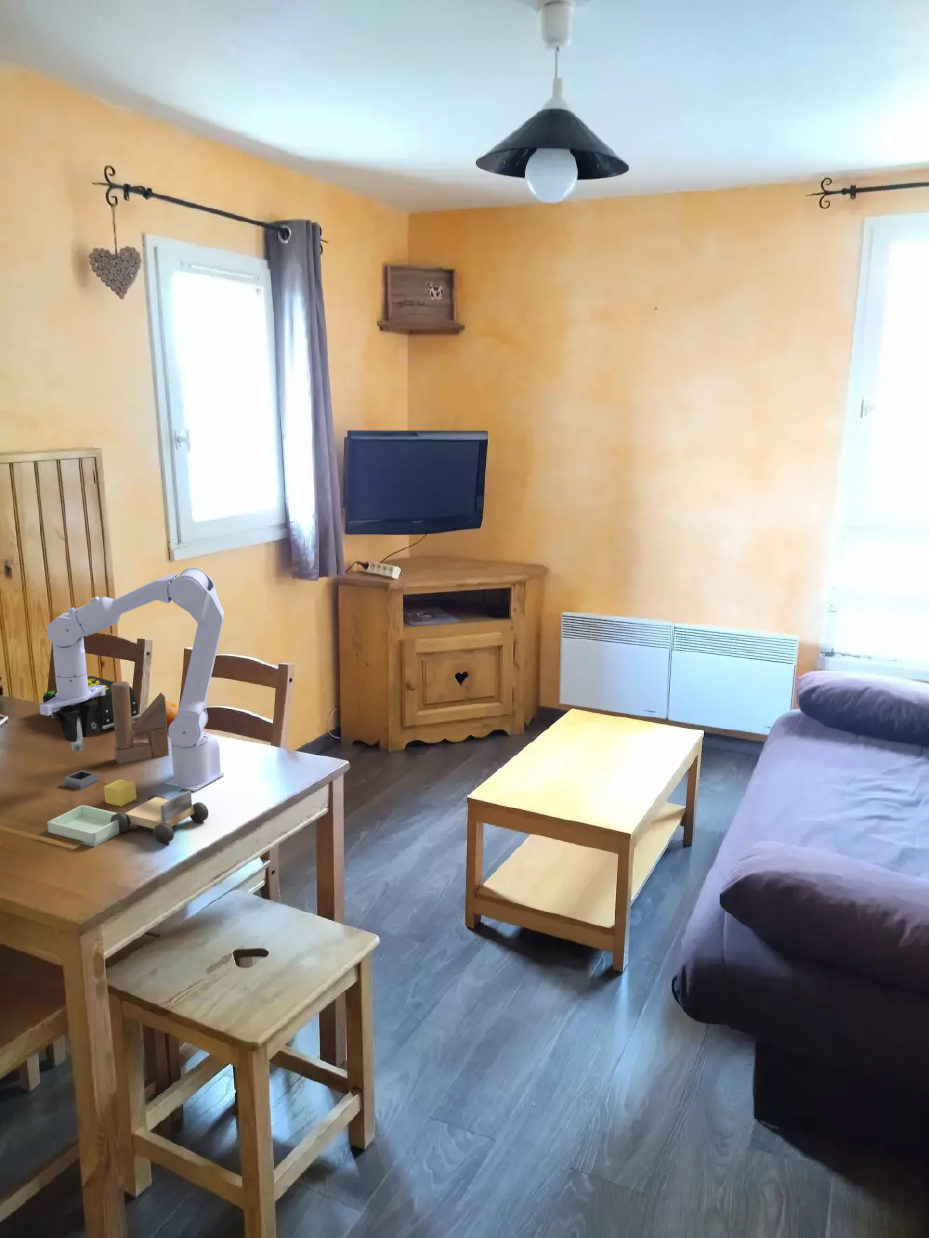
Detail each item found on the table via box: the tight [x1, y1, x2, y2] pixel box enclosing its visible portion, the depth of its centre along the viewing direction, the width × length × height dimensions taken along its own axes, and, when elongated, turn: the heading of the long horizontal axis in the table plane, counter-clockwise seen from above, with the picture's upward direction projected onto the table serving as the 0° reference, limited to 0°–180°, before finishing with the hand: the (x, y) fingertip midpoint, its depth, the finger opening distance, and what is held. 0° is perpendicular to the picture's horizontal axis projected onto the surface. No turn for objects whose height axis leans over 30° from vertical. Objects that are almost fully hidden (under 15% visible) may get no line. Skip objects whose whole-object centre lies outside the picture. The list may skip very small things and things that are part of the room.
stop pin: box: [71, 715, 85, 752], centre depth 178 cm, size 2×2×7 cm
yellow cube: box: [103, 778, 137, 807], centre depth 173 cm, size 4×4×4 cm
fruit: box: [165, 700, 179, 733], centre depth 212 cm, size 8×8×8 cm
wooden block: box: [111, 680, 170, 765], centre depth 193 cm, size 4×11×18 cm, turn 121°
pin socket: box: [62, 769, 101, 791], centre depth 181 cm, size 5×5×2 cm
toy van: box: [42, 675, 140, 732], centre depth 219 cm, size 11×25×10 cm, turn 57°
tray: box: [46, 804, 120, 848], centre depth 161 cm, size 8×11×2 cm
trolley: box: [111, 790, 209, 845], centre depth 163 cm, size 10×14×6 cm
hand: (77, 738), depth 178 cm, fingers closed on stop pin, 2 cm apart
